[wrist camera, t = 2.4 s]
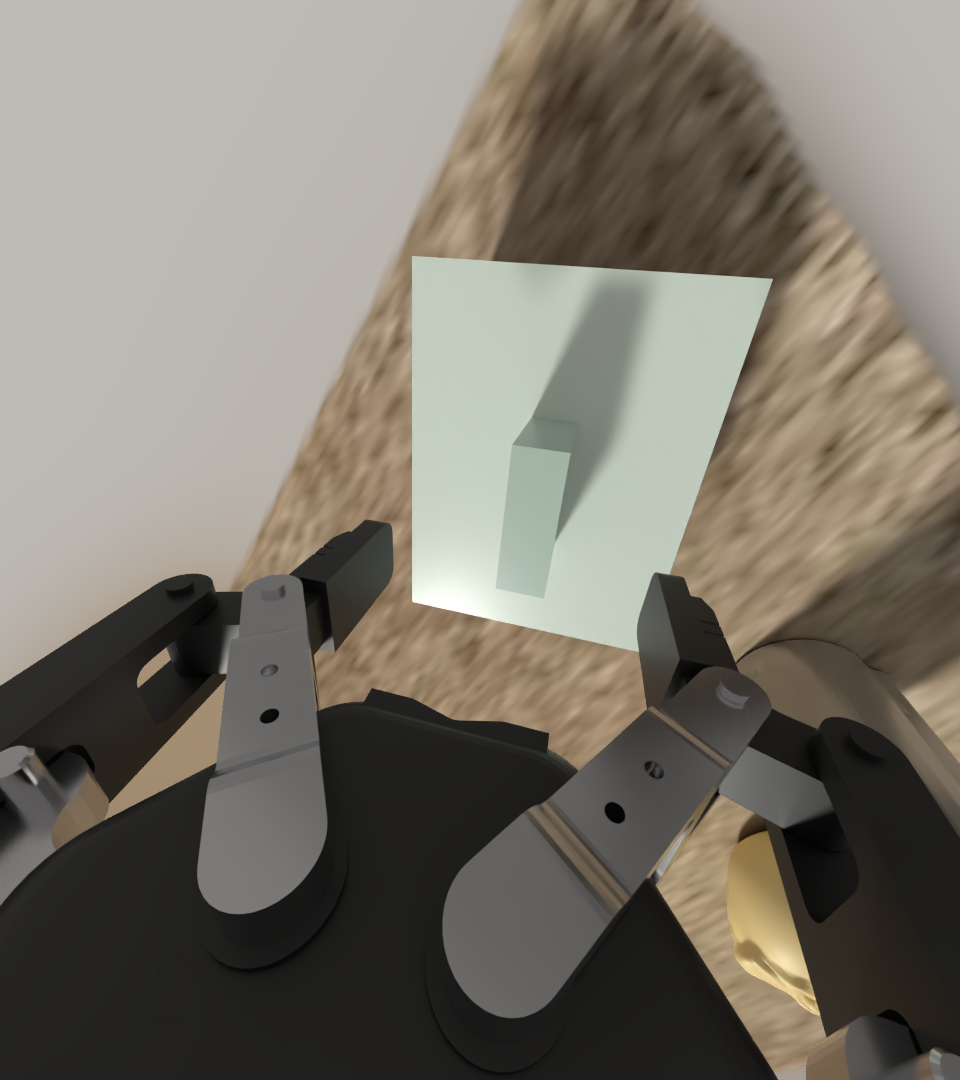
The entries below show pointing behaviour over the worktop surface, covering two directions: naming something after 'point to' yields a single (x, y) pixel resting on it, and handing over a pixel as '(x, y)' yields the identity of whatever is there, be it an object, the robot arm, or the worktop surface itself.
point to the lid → (564, 433)
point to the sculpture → (765, 921)
